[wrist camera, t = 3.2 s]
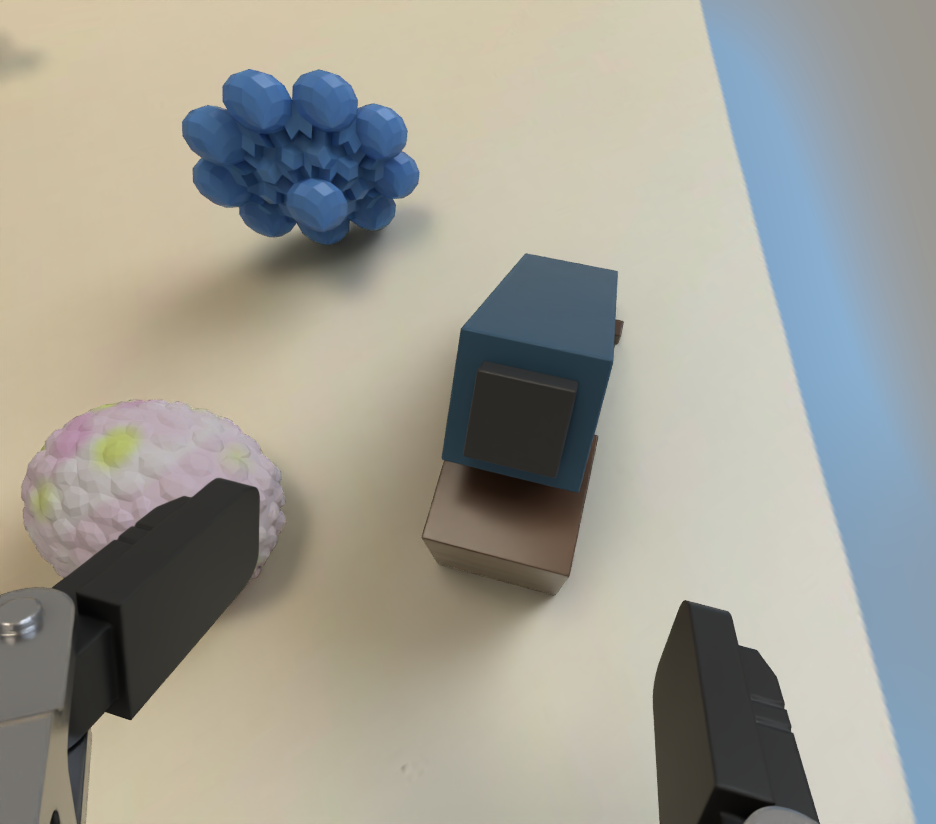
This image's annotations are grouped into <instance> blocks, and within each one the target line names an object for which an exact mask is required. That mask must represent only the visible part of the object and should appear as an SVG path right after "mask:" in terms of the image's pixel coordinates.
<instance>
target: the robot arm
mask: <svg viewBox="0 0 936 824" xmlns="http://www.w3.org/2000/svg"><path fill="white" fill-rule="evenodd" d="M259 519H260V494H259V491H258V489H257V488H256V487H254V486H250V485H246V484H242V483H239V482H235V481H231V480H227V479H223V478H216V479H214V480H212V481H211V482H210V483H208V484H207V485H206V486H205V487H204V488H202V489H201V490H200V491H199V492H197V493H196V494H195V495H194V496H192V497H187V496H182V497H179V498H177V499H174V500H172V501H169V502H167V503H165V504H162V505H160V506H157V507H155V508H154V509H153V510H152V511H150V512H149V513H148V514H146V515H145V516H144V517H143V518H141V519H140V520H139V521H137V522H136V524H135V526H134V527H133V526H131V527H130V528H128V529H127V530H126V531H124V532H123V533H122V534H121V535H119V537H118V539H117V540H113V541H112V542H110V543H109V544H108V545H106V546H105V547H104V548H103V549H101V550H100V551H99V552H97V553H96V554H95V555H94V556H92V557H91V558H90V559H88V560H87V561H86V562H84V563H83V564H82V565H81V566H79V567H78V568H77V569H75V570H74V571H73V572H72V573H70V574H69V575H68V576H66V577H65V578H64V579H63V580H61V581H60V582H59V583H57V584H56V585H55V586H53V587H52V588H45V587H34V588H24V589H19V590H14V591H11V592H7V593H4V594H2V595H0V824H86V815H87V801H88V787H89V773H90V759H91V745H92V732H91V727H92V726H93V725H94V723H95V722H96V721H97V720H98V719H99V718H100V717H101V716H102V715H103V714H104V712H107V713H110V714H113V715H116V716H119V717H122V718H125V719H128V720H132V718H133V717H134V716H135V715H136V714H137V713H138V711H139V710H140V709H141V708H142V707H143V706H144V704H145V703H146V702H147V701H148V700H149V699H150V697H151V696H152V695H153V694H154V693H155V692H156V690H157V689H158V688H159V687H160V686H161V685H162V683H163V682H164V681H165V680H166V679H167V678H168V676H169V675H170V674H171V673H172V672H173V671H174V669H175V668H176V667H177V666H178V665H179V664H180V662H181V661H182V660H183V659H184V658H185V656H186V655H187V654H188V653H189V652H190V651H191V649H192V648H193V647H194V646H195V645H196V644H197V642H198V641H199V640H200V639H201V638H202V637H203V635H204V634H205V633H206V632H207V631H208V630H209V628H210V627H211V626H212V625H213V624H214V623H215V621H216V620H217V619H218V618H219V617H220V616H221V614H222V613H223V612H224V611H225V610H226V609H227V607H228V606H229V605H230V604H231V603H232V601H233V600H234V599H235V598H236V597H237V596H238V594H239V593H240V592H241V591H242V590H243V589H244V587H245V586H246V585H247V584H248V582H249V581H250V579H251V577H252V575H253V573H254V570H255V568H256V565H257V561H258V555H259ZM784 705H785V703H784V700H783V696H782V693H781V690H780V686H779V683H778V679H777V677H776V675H775V674H774V673H773V671H772V670H771V668H770V667H769V666H768V664H767V663H766V662H765V660H764V659H763V658H762V656H761V655H760V653H759V652H758V651H757V650H754V649H751V648H747V647H743V646H739V645H738V641H737V637H736V632H735V628H734V624H733V620H732V616H731V614H730V613H729V612H728V611H725V610H721V609H717V608H713V607H709V606H705V605H702V604H698V603H694V602H690V601H686V600H685V601H683V602H682V604H681V605H680V607H679V610H678V613H677V615H676V618H675V621H674V623H673V626H672V629H671V632H670V634H669V637H668V640H667V642H666V645H665V648H664V651H663V653H662V656H661V659H660V661H659V664H658V668H657V671H656V676H655V681H654V689H653V714H654V732H655V750H656V767H657V785H658V802H659V820H660V824H820V822H819V819H818V816H817V812H816V809H815V806H814V802H813V799H812V795H811V792H810V789H809V785H808V782H807V778H806V775H805V771H804V768H803V765H802V761H801V758H800V754H799V751H798V748H797V744H796V741H795V737H794V734H793V733H791V724H790V720H789V717H788V713H787V710H785V709H784Z"/></svg>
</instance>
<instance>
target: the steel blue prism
mask: <svg viewBox="0 0 936 824" xmlns="http://www.w3.org/2000/svg"><path fill="white" fill-rule="evenodd" d="M617 278H618V272H617V271H614V270H609V269H604V268H599V267H593V266H588V265H583V264H578V263H573V262H568V261H562V260H557V259H552V258H547V257H542V256H537V255H531V254H525V255H524V256H523V257H522V258H521V259H520V260H519V262H518V263H517V264H516V265H515V266H514V267H513V269H512V270H511V271H510V272H509V273H508V274H507V276H506V277H505V278H504V279H503V280H502V281H501V283H500V284H499V285H498V286H497V287H496V288H495V290H494V291H493V292H492V293H491V294H490V295H489V297H488V298H487V299H486V300H485V301H484V302H483V304H482V305H481V306H480V307H479V308H478V309H477V311H476V312H475V313H474V314H473V315H472V317H471V318H470V319H469V320H468V321H467V322H466V324H465V325H464V326H463V327H462V328H461V331H460V338H459V345H458V352H457V358H456V365H455V372H454V378H453V385H452V392H451V398H450V405H449V412H448V419H447V425H446V432H445V439H444V445H443V452H442V460H445V461H449V462H453V463H457V464H461V465H465V466H470V467H474V468H478V469H482V470H486V471H490V472H494V473H498V474H502V475H506V476H511V477H515V478H519V479H523V480H527V481H531V482H535V483H539V484H543V485H547V486H551V487H556V488H560V489H564V490H568V491H572V492H576V493H578V492H579V491H580V487H581V484H582V480H583V476H584V472H585V468H586V464H587V461H588V457H589V453H590V449H591V445H592V441H593V438H594V434H595V430H596V426H597V422H598V418H599V415H600V411H601V407H602V403H603V399H604V395H605V392H606V388H607V384H608V380H609V376H610V372H611V369H612V365H613V357H614V337H615V317H616V297H617Z"/></svg>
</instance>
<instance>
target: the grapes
mask: <svg viewBox="0 0 936 824" xmlns="http://www.w3.org/2000/svg"><path fill="white" fill-rule="evenodd" d="M223 103H224V105H225V106H226V108H227V109H224V108H221V107H217V106H210V105H207V106H204V107H200V108H198V109H195V110H192V111H190V112H189V113H188V115H187V116H186V117H185V119H184V120H183V121H182V131H183V137H184V139H185V141H186V142H187V144H188V145H189V147H190V148H191V150H192V151H193V152H195V153H196V154H197V155H199V156H200V157H201V159H200V160H199V161H198V162H197V164H196V165H195V166H194V168H193V182H194V184H195V186H196V187H197V189H198V190H199V192H200V193H201V194H202V195H203V196H205V197H206V198H207V199H209V200H210V201H212V202H213V203H215V204H217V205H220V206H223V207H226V208H233V207H239V214H240V216H241V217H242V219H243V221H244V222H245V224H246V225H247V226H248V227H250V228H251V229H253V230H254V231H255V232H257V233H259V234H261V235H264V236H267V237H280V236H283V235H285V234H287V233H288V232H290V231H291V230H292V229H293V227H294V226H295V225H296V223H297V224H298V226H299V228H300V230H301V231H302V233H303V234H304V235H305V236H307V237H308V238H309V239H311V240H312V241H314V242H317V243H320V244H323V245H331V244H335V243H337V242H339V241H340V240H342V239H343V238H344V237H345V235H346V234H347V233H348V231H349V221H350V220H351V221H352V222H353V223H355V224H356V225H357V226H358V227H361V228H364V229H367V230H380V229H382V228H384V227H386V226H387V225H388V224H389V223H390V222H391V220H392V219H393V218H394V216H395V208H396V204H395V202H394V200H393V199H399V198H404V197H406V196H408V195H409V194H411V193H412V191H413V190H414V189H415V187H416V186H417V184H418V180H419V170H418V168H417V165H416V163H415V161H414V160H413V159H412V158H411V157H410V156H408V155H407V154H406V153H405V152H402V150H403V148H404V147H405V145H406V141H407V132H408V131H407V128H406V126H405V124H404V121H403V119H402V117H400V116H399V115H398V114H397V113H396V112H395V111H393V110H392V109H391V108H388V107H385V106H382V105H378V104H369V105H365V106H362V107H360V108H358V109H357V106H358V99H357V97H356V95H355V93H354V91H353V89H352V86H351V85H350V84H348V83H347V82H346V81H345V80H344V79H343V78H341V77H340V76H339V75H336V74H333V73H330V72H326V71H323V70H315V71H312V72H309V73H306V74H303V75H301V76H300V77H299V78H298V80H297V81H296V82H295V84H294V85H293V94H292V99H291V97H290V95H289V94H288V92H287V90H286V88H285V86H284V85H283V84H282V83H280V82H279V81H278V80H277V79H275V78H274V77H273V76H272V75H269V74H266V73H263V72H259V71H255V70H251V69H248V70H245V71H242V72H239V73H236V74H233V75H231V76H230V77H229V78H228V80H227V81H226V82H225V84H224V85H223Z"/></svg>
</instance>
